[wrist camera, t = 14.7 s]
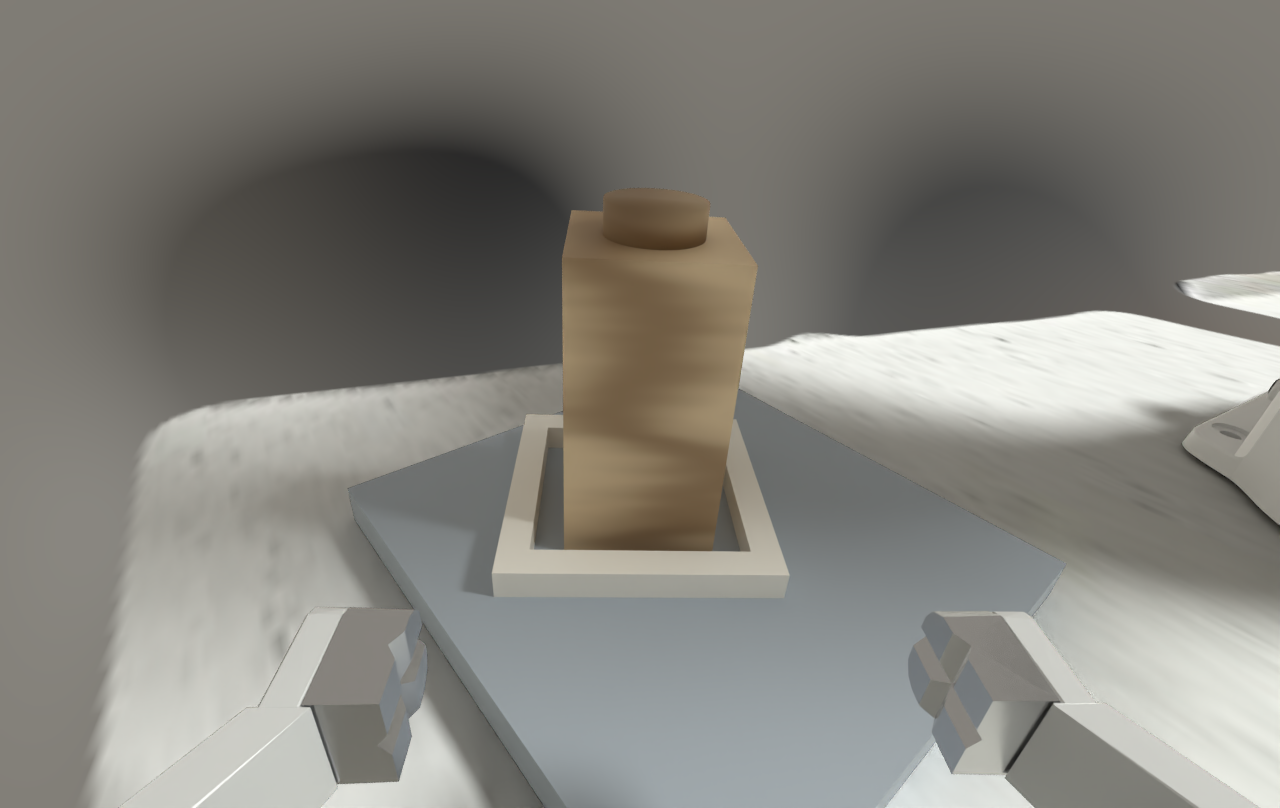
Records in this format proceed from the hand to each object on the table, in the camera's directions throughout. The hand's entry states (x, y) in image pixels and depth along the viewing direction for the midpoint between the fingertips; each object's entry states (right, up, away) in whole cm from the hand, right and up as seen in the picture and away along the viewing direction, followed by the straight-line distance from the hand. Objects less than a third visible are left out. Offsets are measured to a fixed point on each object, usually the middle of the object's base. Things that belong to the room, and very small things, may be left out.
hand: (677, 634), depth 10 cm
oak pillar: (-1, 0, +13) cm, 13 cm away
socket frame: (-1, 0, +13) cm, 13 cm away
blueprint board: (+1, -2, +13) cm, 13 cm away
